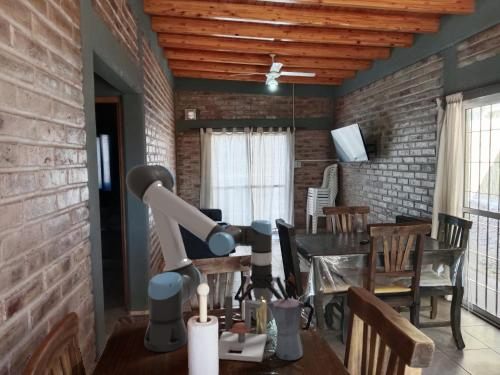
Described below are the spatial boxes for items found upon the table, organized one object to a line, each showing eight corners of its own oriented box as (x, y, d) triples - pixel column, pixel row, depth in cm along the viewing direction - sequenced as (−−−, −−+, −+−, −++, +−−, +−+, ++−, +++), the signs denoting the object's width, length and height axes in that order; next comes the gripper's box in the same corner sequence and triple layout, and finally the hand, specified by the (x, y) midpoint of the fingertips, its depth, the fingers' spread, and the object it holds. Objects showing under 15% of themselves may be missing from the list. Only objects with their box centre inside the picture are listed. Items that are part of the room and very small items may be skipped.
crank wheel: (264, 341, 123) (264, 299, 122) (257, 349, 117) (257, 305, 117) (230, 333, 129) (229, 293, 128) (221, 340, 124) (221, 299, 123)
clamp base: (212, 358, 115) (212, 353, 115) (223, 335, 131) (223, 331, 131) (261, 361, 113) (261, 357, 113) (266, 338, 129) (266, 334, 129)
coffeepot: (267, 310, 155) (267, 269, 154) (282, 317, 148) (282, 274, 147) (239, 319, 145) (239, 276, 145) (254, 327, 138) (254, 281, 137)
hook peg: (256, 337, 130) (255, 299, 129) (257, 332, 134) (257, 296, 133) (265, 337, 129) (265, 300, 129) (266, 333, 133) (266, 296, 133)
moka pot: (268, 345, 123) (268, 288, 123) (313, 349, 121) (314, 291, 120) (265, 360, 114) (265, 298, 113) (314, 364, 112) (314, 301, 111)
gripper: (296, 261, 132) (295, 317, 133) (230, 259, 136) (230, 313, 137) (295, 266, 125) (295, 326, 126) (226, 264, 129) (226, 321, 129)
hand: (261, 319), depth 131 cm, fingers open, 13 cm apart
